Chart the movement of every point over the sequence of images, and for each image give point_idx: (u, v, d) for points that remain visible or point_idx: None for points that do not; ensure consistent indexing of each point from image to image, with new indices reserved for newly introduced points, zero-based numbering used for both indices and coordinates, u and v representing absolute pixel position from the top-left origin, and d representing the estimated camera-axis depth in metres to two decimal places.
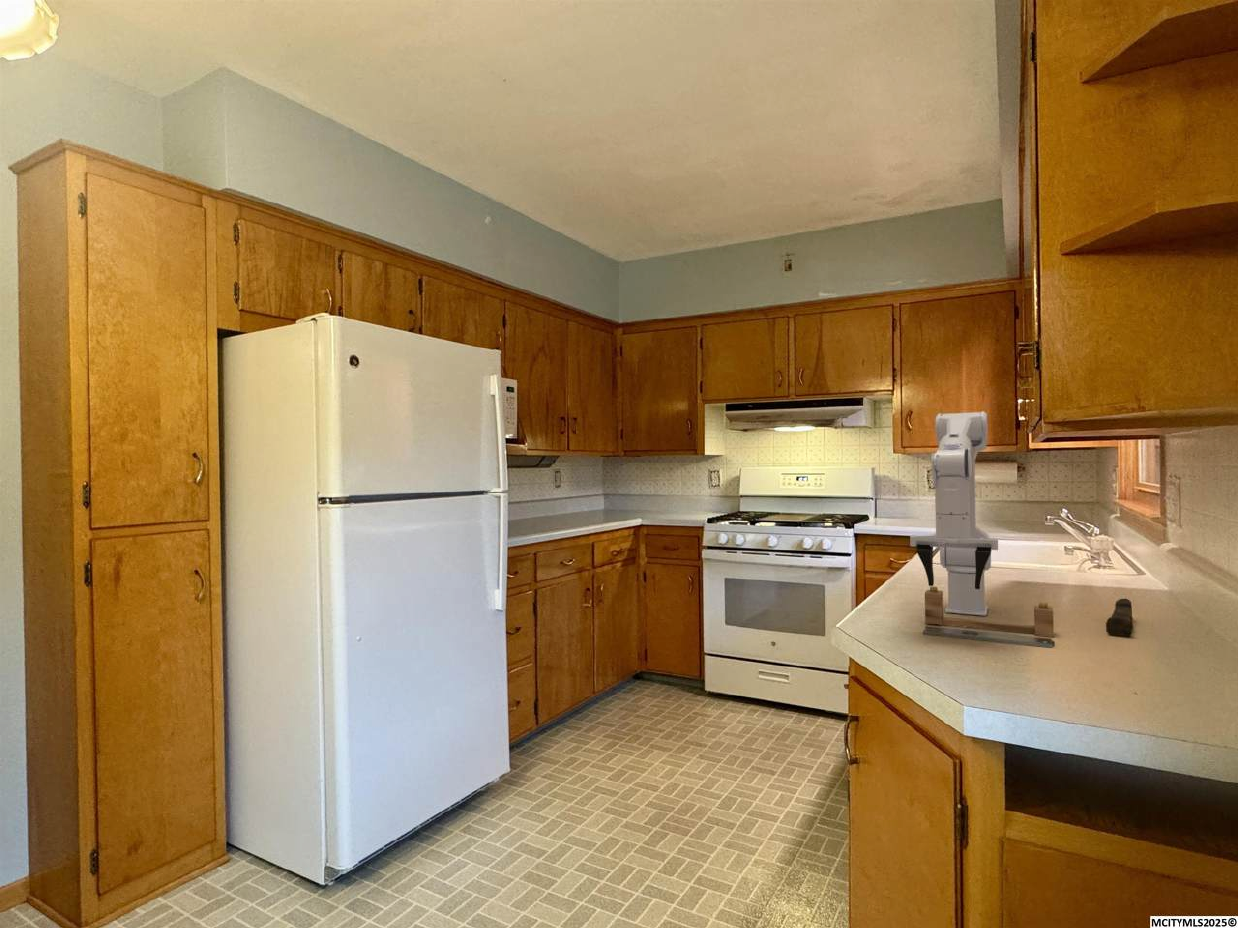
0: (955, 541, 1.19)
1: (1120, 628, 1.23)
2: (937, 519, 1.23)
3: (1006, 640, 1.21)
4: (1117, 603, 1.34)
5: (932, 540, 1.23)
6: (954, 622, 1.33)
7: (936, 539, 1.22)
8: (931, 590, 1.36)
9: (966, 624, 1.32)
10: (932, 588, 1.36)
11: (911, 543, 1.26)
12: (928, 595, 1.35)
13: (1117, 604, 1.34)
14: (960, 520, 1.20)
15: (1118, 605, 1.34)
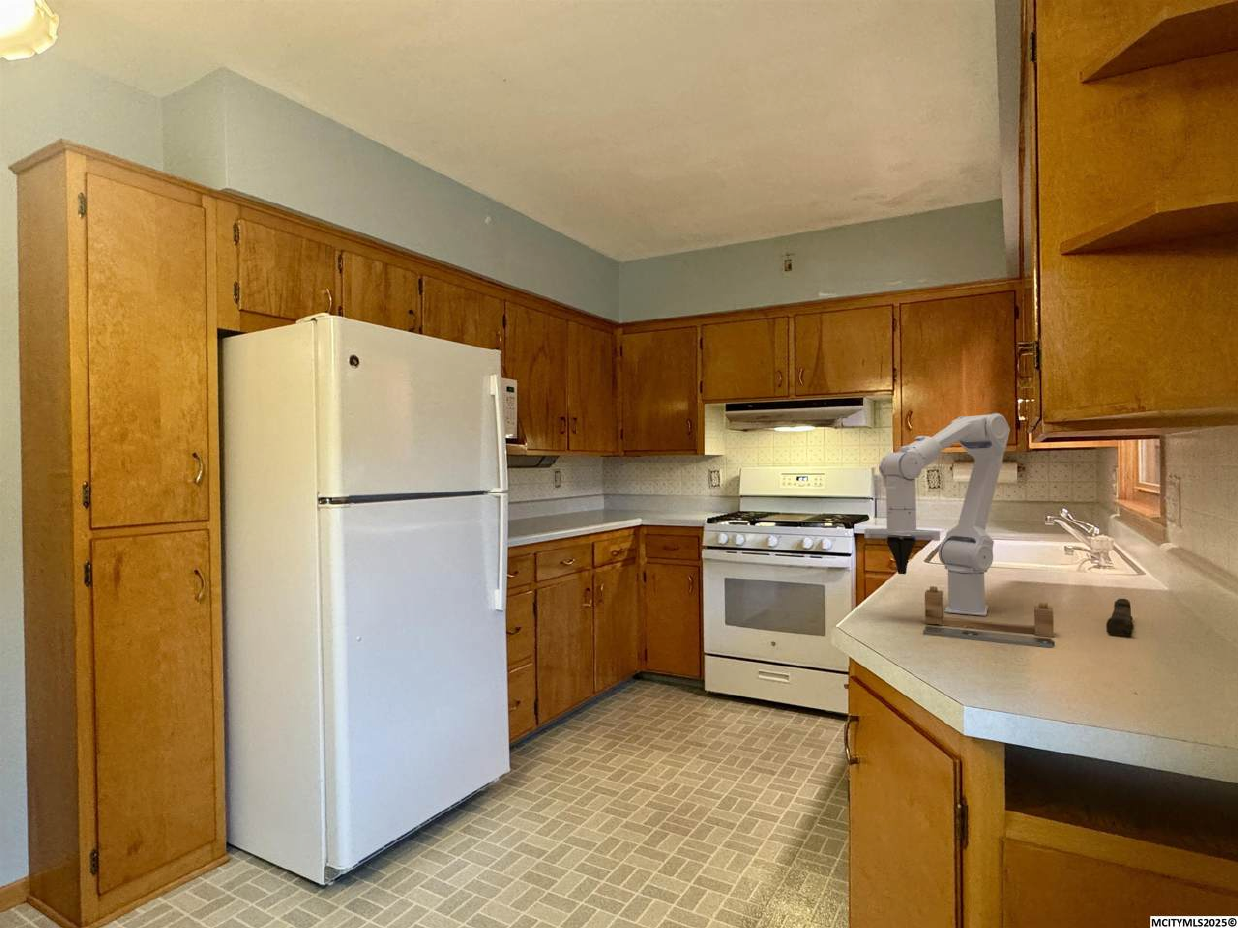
0: (901, 533, 1.36)
1: (1120, 628, 1.23)
2: (887, 514, 1.39)
3: (1006, 640, 1.21)
4: (1116, 603, 1.34)
5: (883, 532, 1.39)
6: (954, 622, 1.33)
7: (886, 531, 1.39)
8: (931, 590, 1.36)
9: (966, 624, 1.32)
10: (932, 588, 1.36)
11: (865, 535, 1.42)
12: (928, 595, 1.35)
13: (1116, 604, 1.34)
14: (906, 514, 1.37)
15: (1117, 605, 1.34)
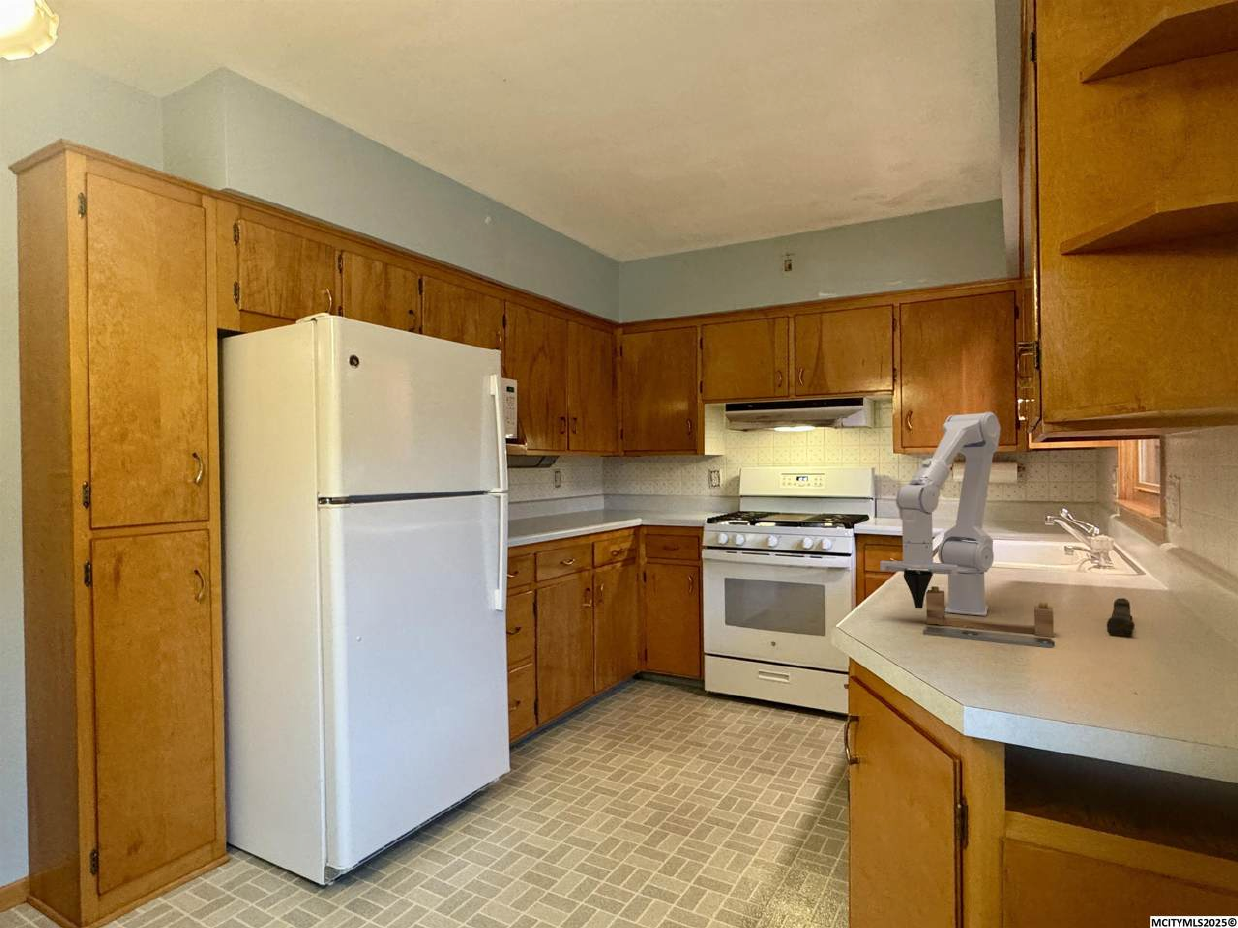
0: (919, 567, 1.34)
1: (1121, 628, 1.23)
2: (904, 547, 1.38)
3: (1006, 640, 1.21)
4: (1116, 603, 1.34)
5: (899, 566, 1.38)
6: (954, 622, 1.33)
7: (903, 565, 1.37)
8: (932, 590, 1.36)
9: (966, 624, 1.32)
10: (933, 588, 1.36)
11: (881, 568, 1.41)
12: (930, 595, 1.35)
13: (1116, 604, 1.34)
14: (923, 548, 1.35)
15: (1117, 605, 1.34)
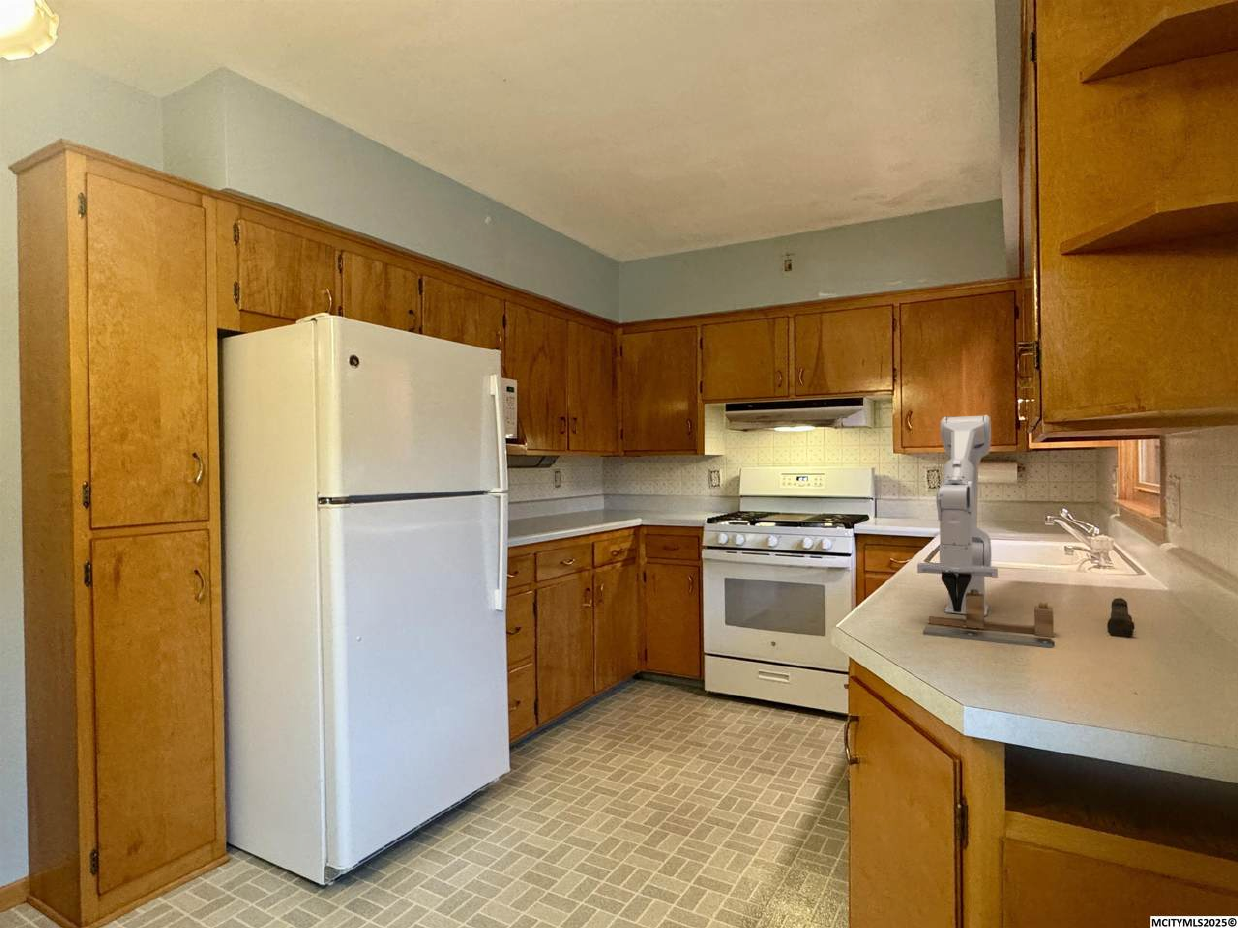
0: (958, 570, 1.30)
1: (1121, 628, 1.23)
2: (942, 549, 1.34)
3: (1006, 640, 1.21)
4: (1113, 603, 1.34)
5: (937, 568, 1.34)
6: (954, 622, 1.33)
7: (941, 567, 1.33)
8: (972, 593, 1.32)
9: None
10: (973, 591, 1.32)
11: (918, 570, 1.37)
12: (969, 598, 1.31)
13: (1113, 604, 1.34)
14: (963, 550, 1.31)
15: (1115, 605, 1.34)
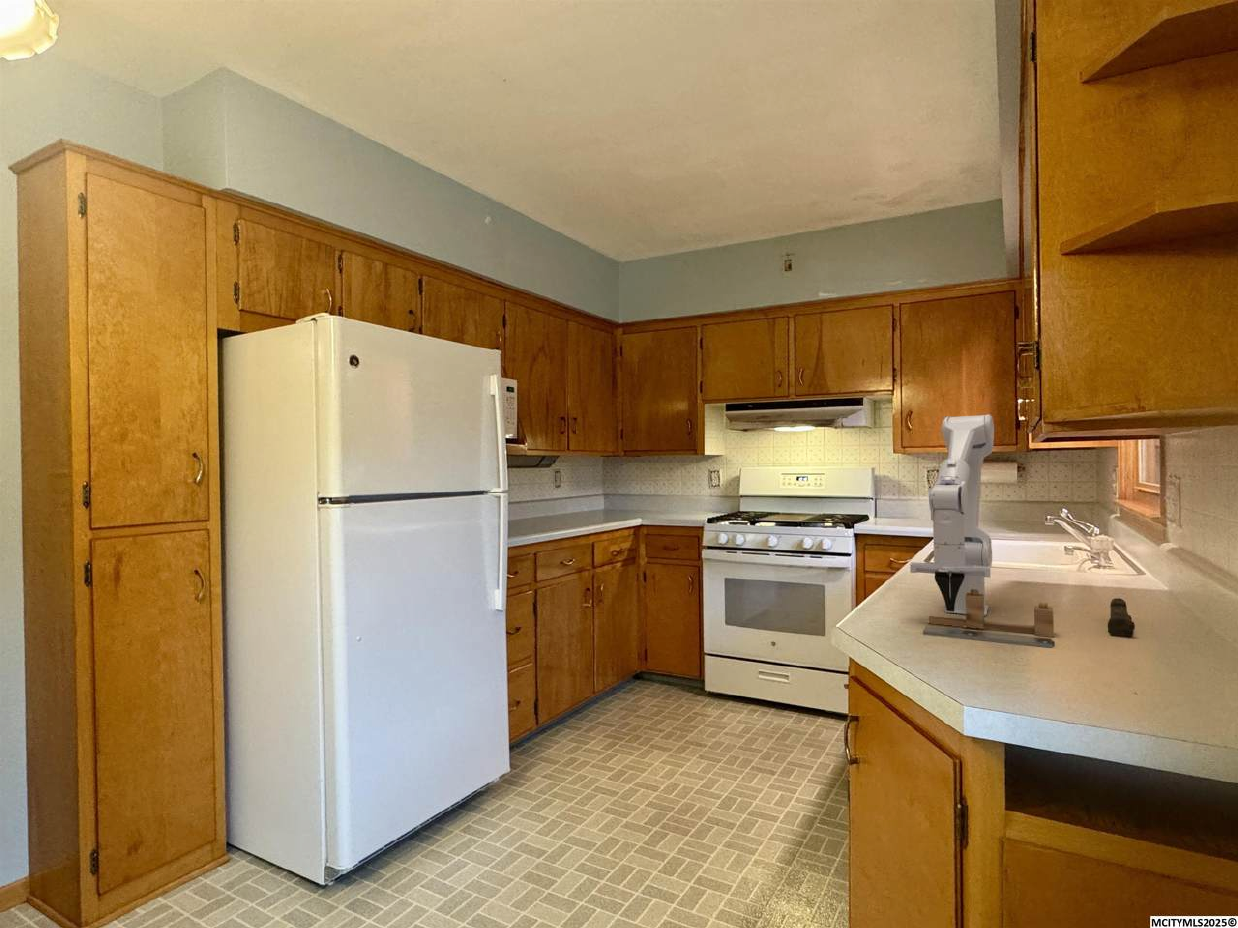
0: (951, 569, 1.31)
1: (1122, 628, 1.23)
2: (935, 548, 1.35)
3: (1006, 640, 1.21)
4: (1112, 603, 1.34)
5: (930, 567, 1.35)
6: (954, 622, 1.33)
7: (934, 567, 1.34)
8: (972, 593, 1.32)
9: None
10: (973, 591, 1.32)
11: (911, 570, 1.37)
12: (970, 598, 1.31)
13: (1112, 604, 1.34)
14: (956, 550, 1.32)
15: (1114, 605, 1.34)
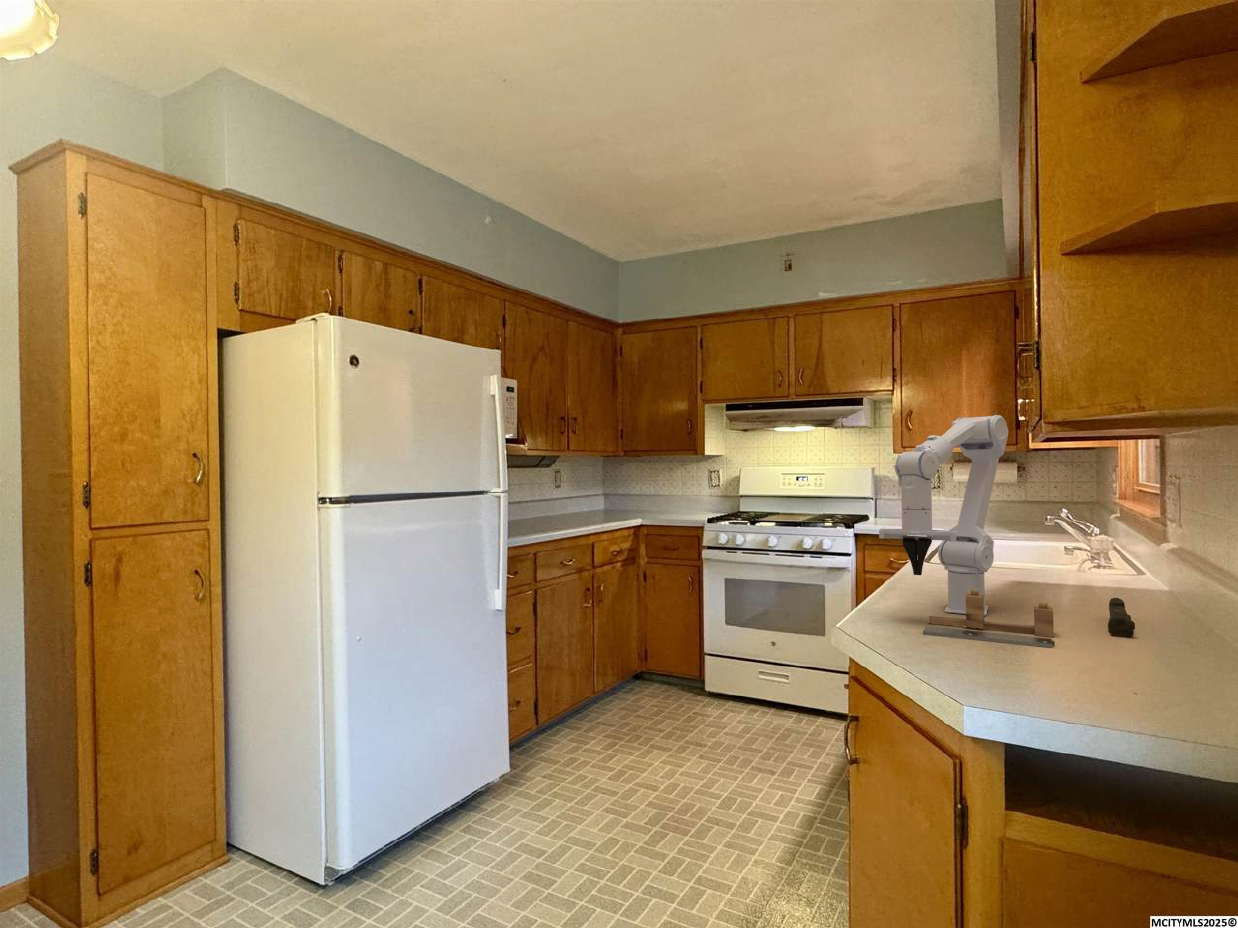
0: (918, 533, 1.33)
1: (1122, 628, 1.23)
2: (903, 514, 1.37)
3: (1006, 640, 1.21)
4: (1111, 602, 1.34)
5: (898, 532, 1.37)
6: (954, 622, 1.33)
7: (902, 531, 1.36)
8: (972, 593, 1.32)
9: None
10: (973, 591, 1.32)
11: (880, 535, 1.40)
12: (970, 598, 1.31)
13: (1111, 603, 1.34)
14: (923, 514, 1.34)
15: (1112, 604, 1.34)
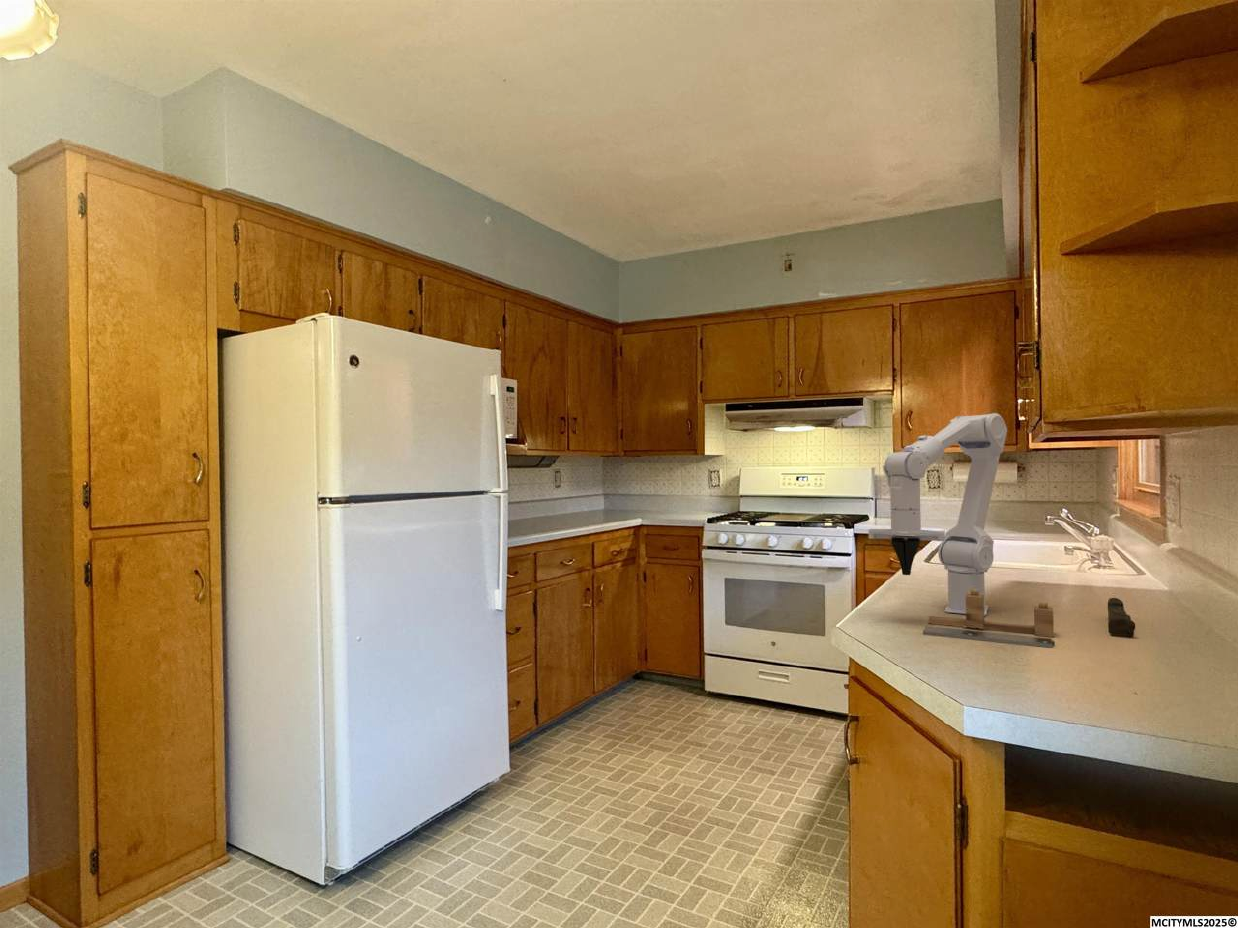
0: (906, 533, 1.34)
1: (1122, 628, 1.23)
2: (891, 514, 1.38)
3: (1006, 640, 1.21)
4: (1110, 603, 1.35)
5: (887, 533, 1.38)
6: (954, 622, 1.33)
7: (890, 532, 1.37)
8: (972, 593, 1.32)
9: None
10: (973, 591, 1.32)
11: (869, 535, 1.41)
12: (970, 598, 1.31)
13: (1110, 604, 1.34)
14: (911, 515, 1.35)
15: (1111, 605, 1.34)
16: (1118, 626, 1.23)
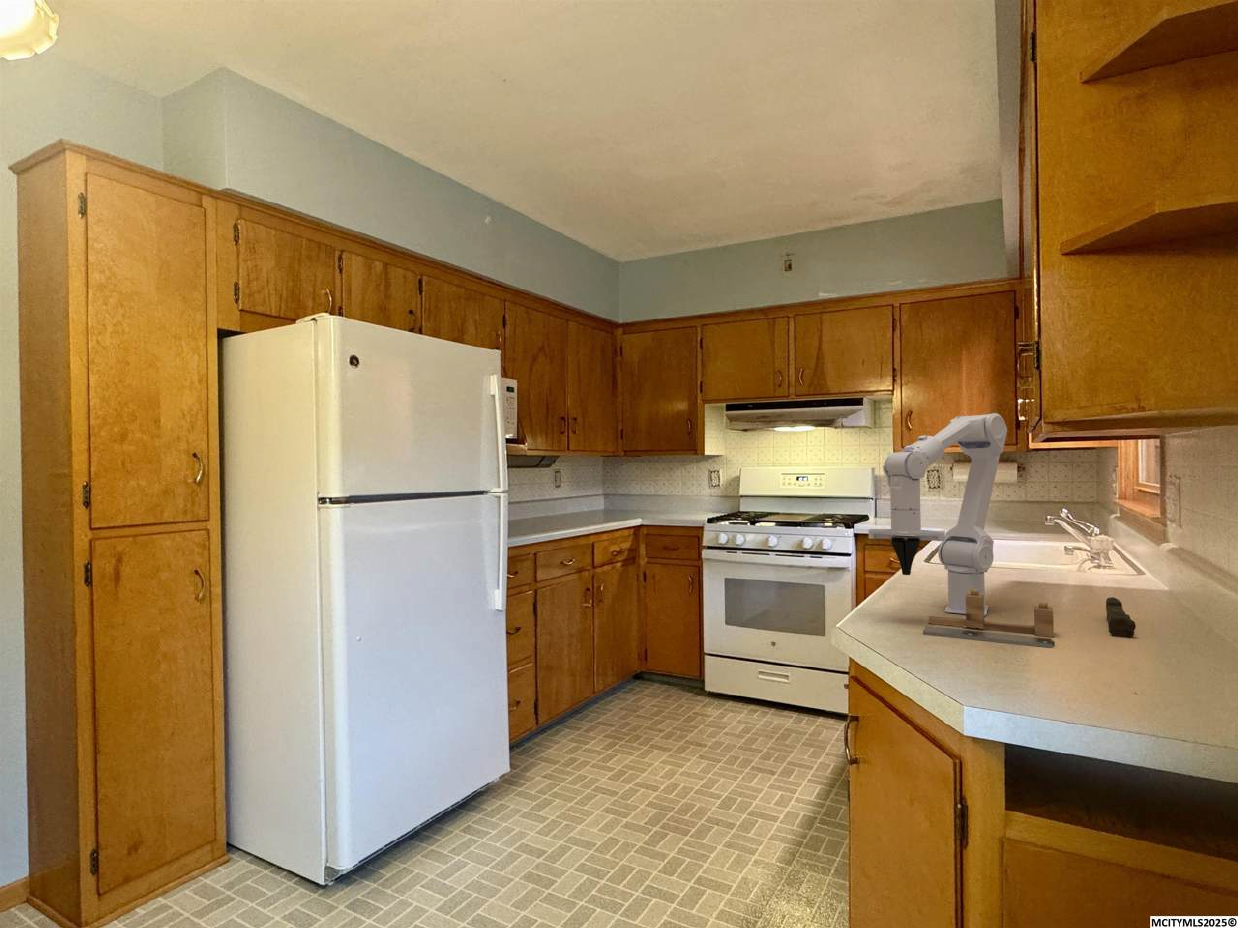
0: (906, 533, 1.34)
1: (1123, 628, 1.23)
2: (891, 514, 1.38)
3: (1006, 640, 1.21)
4: (1108, 602, 1.35)
5: (887, 533, 1.38)
6: (954, 622, 1.33)
7: (890, 532, 1.37)
8: (972, 593, 1.32)
9: None
10: (973, 591, 1.32)
11: (869, 535, 1.41)
12: (970, 598, 1.31)
13: (1108, 603, 1.35)
14: (911, 515, 1.35)
15: (1110, 604, 1.34)
16: (1118, 626, 1.23)
